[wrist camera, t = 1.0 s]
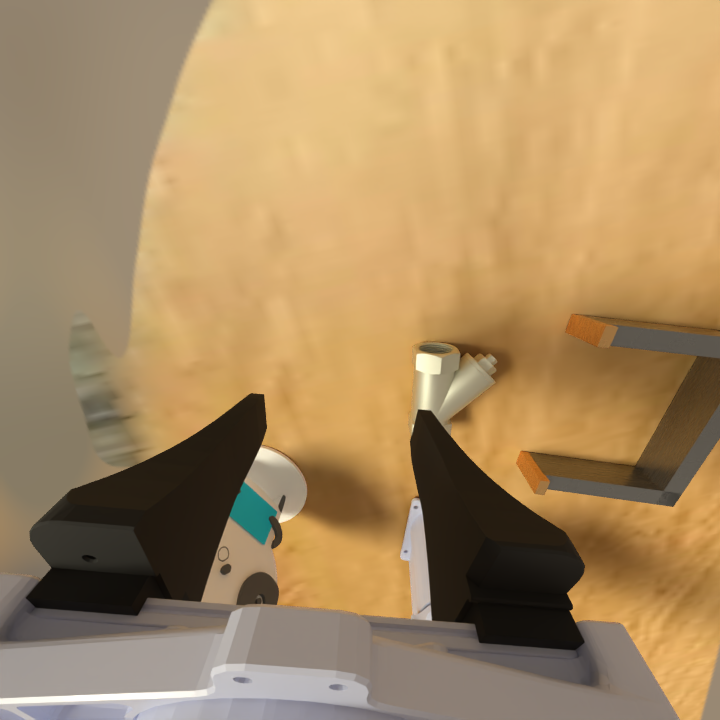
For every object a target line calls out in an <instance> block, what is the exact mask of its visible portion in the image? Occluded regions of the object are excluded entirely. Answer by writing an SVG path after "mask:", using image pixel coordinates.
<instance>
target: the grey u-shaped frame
mask: <svg viewBox="0 0 720 720" xmlns="http://www.w3.org/2000/svg"><path fill="white" fill-rule="evenodd" d="M566 333H568V334H570V335H572V336H575V337H577V338H579V339H581V340H583V341H586V342H588V343H590V344H592V345H594V346H596V347H603V348H610V346H617V347H626V348H634V349H643V350H652V351H660V352H669V353H678V354H687V355H695V356H698V357H697V359H696V361H695V362H694V364H693V366H692V368H691V369H690V371H689V373H688V375H687V376H686V378H685V380H684V382H683V383H682V385H681V387H680V389H679V390H678V392H677V394H676V396H675V397H674V399H673V401H672V403H671V404H670V406H669V408H668V410H667V411H666V413H665V415H664V417H663V419H662V420H661V422H660V424H659V426H658V427H657V429H656V431H655V433H654V434H653V436H652V438H651V440H650V441H649V443H648V445H647V447H646V448H645V450H644V452H643V454H642V455H641V457H640V459H639V461H638V462H637V464H636V466H628V465H621V464H613V463H606V462H598V461H591V460H583V459H576V458H569V457H561V456H554V455H546V454H539V453H531V452H524V451H521V452H520V455H519V457H518V460H517V463H516V464H517V465H518V467H519V469H520V470H521V472H522V474H523V475H524V477H525V479H526V480H527V482H528V484H529V485H530V487H531V488H532V490H533V492H534V493H535V494H539V495H545V492H546V490H547V489H550V490H557V491H564V492H572V493H579V494H586V495H593V496H600V497H607V498H614V499H622V500H629V501H636V502H643V503H650V504H657V505H665V506H672V507H673V506H674V505H675V503H676V502H677V501H678V499H679V498H680V496H681V495H682V493H683V492H684V490H685V489H686V487H687V486H688V484H689V483H690V481H691V480H692V478H693V477H694V475H695V474H696V472H697V471H698V469H699V468H700V466H701V465H702V464H703V462H704V461H705V459H706V458H707V456H708V455H709V453H710V452H711V450H712V449H713V447H714V446H715V444H716V443H717V441H718V440H719V438H720V330H711V329H702V328H693V327H684V326H675V325H666V324H657V323H648V322H639V321H630V320H620V319H611V318H602V317H593V316H584V315H575V314H572V315H571V318H570V321H569V324H568V326H567V329H566Z"/></svg>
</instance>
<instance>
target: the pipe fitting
mask: <svg viewBox="0 0 720 720" xmlns="http://www.w3.org/2000/svg"><path fill="white" fill-rule="evenodd" d="M412 363H413V366H414V372H413V389H412V405H411V411H410V412H409V420H408V426H409V431H410V434H411V436H412V432H413V428H414V424H415V420H416V416H417V411H418V409H422V410H431V411H432V412H433V414H434V415H435V416H436V418H437V419H438V420H439V422H440V423H441V424H442V426H443V427H444V428H445V430H446V431H447V432H448V433H449V435H451V427H452V423H451V420H450V418H451V417H453V416H454V415H455V414H456V413H458V412H459V411H460V410H462V409H463V408H464V407H465V406H467V405H468V404H469V403H471V402H472V401H473V400H474V399H476V398H477V397H478V396H480V395H481V394H482V393H483V392H485V391H486V390H487V389H489V388H490V387H491V386H492V385H494V384H495V383H496V382H495V381H494V379H493V378H492V377H491V375H492V374H494V373H495V372H496V368H495V367H494V366H493V365H495V364H496V363H497V360H496V359H495V358H494V357H493V356H492V355H491V354H487V355H486V356H485V357H484V356H483V355H482V354H480V353H479V354H478V355H477V356H475V357H474V358H473V357H472V356H471V355H469V354H468V353H466V354H465V355H464V356H463V357H461V358H460V352H459V350H458V349H457V348H456V347H455V346H453V345H450V344H447V343H441V342H423V343H419V344H416V345H414V346H413V350H412ZM472 364H473V365H474V366H475V367H476V368H475V367H474V366H473V365H472Z"/></svg>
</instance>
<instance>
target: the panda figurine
mask: <svg viewBox="0 0 720 720" xmlns="http://www.w3.org/2000/svg"><path fill="white" fill-rule="evenodd" d="M306 498H307V484H306V481H305V478H304V476H303V474H302V472H301V471H300V469H299V468H298V467H297V465H296V464H295V463H294V462H293V461H292V460H291V459H289V458H288V457H287V456H285V455H284V454H282V453H281V452H279V451H277V450H275V449H272V448H270V447H267V446H263V445H261V447H260V449H259V452H258V454H257V456H256V458H255V460H254V462H253V464H252V466H251V468H250V470H249V472H248V474H247V476H246V478H245V480H244V482H243V484H242V487H241V489H240V491H239V493H238V495H237V497H236V500H235V502H234V505H233V507H232V510H231V513H230V516H229V518H228V521H227V524H226V527H225V529H224V532H223V535H222V538H221V541H220V544H219V547H218V550H217V553H216V556H215V559H214V562H213V565H212V568H211V571H210V574H209V577H208V581H207V584H206V587H205V590H204V594H203V597H202V600H201V602H207V603H219V604H232V605H247V604H270V605H277V601H278V596H279V589H278V586H277V570H276V563H275V559H274V555H273V551H272V549H274V548H276V547H277V546H278V545H279V544H280V543H281V541H282V530H281V526H280V523H281V522H285V521H287V520H289V519H291V518H293V517H294V516H296V515H297V514H298V513H299V512H300V511H301V509H302V508H303V506H304V504H305V501H306ZM274 535H275V539H274V540H273V538H274Z"/></svg>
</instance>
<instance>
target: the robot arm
mask: <svg viewBox="0 0 720 720" xmlns="http://www.w3.org/2000/svg"><path fill="white" fill-rule="evenodd" d="M266 429H267V424H266V412H265V400H264V394H253V393H251V394H249V395H248V396H247V397H245V398H244V399H243V400H241V401H240V402H239V403H238V404H236V405H235V406H234V407H232V408H231V409H230V410H229V411H227V412H226V413H225V414H223V415H222V416H221V417H219V418H218V419H217V420H215V421H214V422H212V423H211V424H209V425H208V426H206V427H205V428H203V429H202V430H200V431H199V432H197V433H196V434H194V435H193V436H191V437H189V438H188V439H186V440H184V441H183V442H181V443H179V444H177V445H176V446H174V447H172V448H170V449H168V450H166V451H164V452H162V453H160V454H158V455H156V456H154V457H152V458H150V459H148V460H146V461H144V462H142V463H139V464H137V465H135V466H133V467H130V468H128V469H125V470H123V471H121V472H118V473H116V474H113V475H111V476H108V477H106V478H103V479H100V480H97V481H94V482H91V483H89V484H86V485H83V486H80V487H78V488H74V489H71V490H70V491H69V492H68V493H67V494H66V495H65V496H64V497H63V498H62V499H61V500H60V501H58V502H57V503H56V504H55V505H54V506H53V507H52V508H51V509H50V510H49V511H48V512H47V513H46V514H45V515H44V516H43V517H42V518H41V519H40V520H39V521H38V522H37V523H36V524H34V525H33V527H32V528H31V530H30V541H31V542H32V544H33V546H34V547H35V548H36V550H37V551H38V552H39V553H40V554H41V556H42V557H43V558H44V559H45V560H46V562H47V563H48V564H49V565H50V566H51V569H50V571H49V572H48V573H47V574H46V575H45V576H44V577H43V579H42V580H41V579H40V578H38V577H35V576H31V575H25V574H12V573H0V720H680V719H679V717H678V716H677V714H676V712H675V711H674V709H673V707H672V706H671V704H670V702H669V701H668V699H667V697H666V696H665V694H664V692H663V691H662V689H661V687H660V686H659V684H658V682H657V681H656V679H655V677H654V676H653V674H652V672H651V671H650V669H649V667H648V666H647V664H646V662H645V661H644V659H643V657H642V656H641V654H640V652H639V651H638V649H637V647H636V646H635V644H634V642H633V641H632V639H631V637H630V636H629V634H628V632H627V631H626V629H625V627H624V626H623V625H622V624H620V623H615V622H603V621H591V620H585V621H579V622H576V623H575V621H574V619H573V617H572V615H571V613H570V611H569V610H572V609H573V605H572V603H571V601H570V599H569V597H568V595H567V592H568V591H569V590H570V589H571V588H572V587H573V586H574V585H575V584H576V583H577V582H578V581H579V580H580V578H581V577H582V575H583V573H584V568H585V565H584V563H583V561H582V559H581V557H580V556H579V554H578V552H577V551H576V549H575V547H574V545H573V544H572V542H571V541H570V539H569V537H568V536H567V534H566V533H565V532H564V531H562V530H561V529H559V528H558V527H556V526H554V525H553V524H551V523H550V522H548V521H547V520H545V519H543V518H542V517H540V516H539V515H537V514H536V513H534V512H533V511H531V510H530V509H529V508H527V507H526V506H524V505H523V504H522V503H520V502H519V501H518V500H516V499H515V498H514V497H512V496H511V495H510V494H509V493H507V492H506V491H505V490H504V489H502V488H501V487H500V486H499V485H498V484H496V483H495V482H494V481H493V480H492V479H491V478H489V477H488V476H487V475H486V474H485V473H484V472H483V471H482V470H481V469H480V468H479V467H478V466H477V465H476V464H475V463H474V462H473V461H472V460H471V459H470V458H469V457H468V456H467V455H466V454H465V453H464V451H463V450H462V449H461V448H460V447H459V446H458V445H457V443H456V442H455V441H454V440H453V438H452V437H451V436H450V435H449V433H448V432H447V431H446V430H445V428H444V427H443V426H442V424H441V423H440V422H439V420H438V419H437V418H436V416H435V415H434V414H433V412H432V411H431V410H422V409H418V411H417V416H416V420H415V424H414V428H413V432H412V436H411V440H410V446H411V458H412V465H413V470H414V475H415V480H416V484H417V489H418V494H419V498H414V499H412V502H411V507H410V512H409V516H408V521H407V525H406V530H405V535H404V539H403V544H402V548H401V553H400V558H401V559H402V560H407V561H409V569H410V584H411V598H412V612H413V615H412V616H411V619H406V618H393V617H381V616H369V615H358V614H356V613H352V612H347V611H342V610H332V609H320V608H308V607H295V606H283V605H270V604H247V605H232V604H219V603H207V602H201V600H202V597H203V594H204V590H205V587H206V584H207V581H208V577H209V574H210V571H211V568H212V565H213V562H214V559H215V556H216V553H217V550H218V547H219V544H220V541H221V538H222V535H223V532H224V529H225V527H226V524H227V521H228V518H229V516H230V513H231V510H232V507H233V505H234V502H235V500H236V497H237V495H238V493H239V491H240V489H241V487H242V484H243V482H244V480H245V478H246V476H247V474H248V472H249V470H250V468H251V466H252V464H253V462H254V460H255V458H256V456H257V454H258V452H259V449H260V447H261V444H262V441H263V439H264V435H265V432H266Z"/></svg>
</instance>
